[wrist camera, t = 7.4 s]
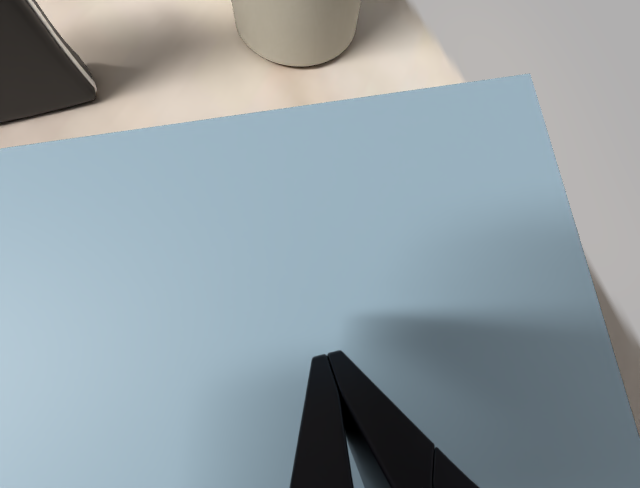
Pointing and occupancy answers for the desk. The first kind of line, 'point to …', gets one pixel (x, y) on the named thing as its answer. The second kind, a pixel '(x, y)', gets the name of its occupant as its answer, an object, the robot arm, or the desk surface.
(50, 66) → the battery charger
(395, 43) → the desk surface
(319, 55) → the travel mug
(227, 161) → the panel
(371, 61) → the desk surface
